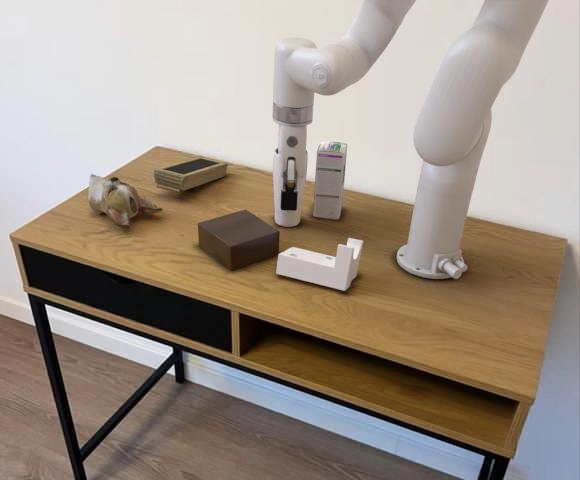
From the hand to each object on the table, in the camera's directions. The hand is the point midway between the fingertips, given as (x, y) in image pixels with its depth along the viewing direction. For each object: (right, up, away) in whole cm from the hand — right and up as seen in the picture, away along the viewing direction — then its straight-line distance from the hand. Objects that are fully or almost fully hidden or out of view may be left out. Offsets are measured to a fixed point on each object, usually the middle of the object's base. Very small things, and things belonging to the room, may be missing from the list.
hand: (288, 201), depth 129 cm
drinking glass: (0, -4, +3) cm, 5 cm away
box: (-21, +8, +16) cm, 28 cm away
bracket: (+5, -17, -13) cm, 22 cm away
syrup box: (+8, -1, +7) cm, 11 cm away
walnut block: (-9, -11, -8) cm, 17 cm away
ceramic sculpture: (-34, -3, +1) cm, 34 cm away
